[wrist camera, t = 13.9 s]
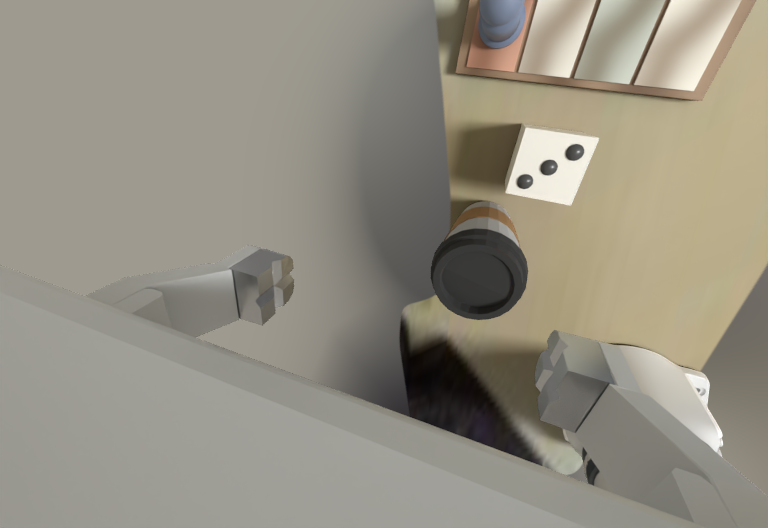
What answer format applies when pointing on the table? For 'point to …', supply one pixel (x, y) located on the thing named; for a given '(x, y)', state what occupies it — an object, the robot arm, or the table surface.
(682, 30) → the board
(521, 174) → the die
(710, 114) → the table surface
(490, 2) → the pawn
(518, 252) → the coffee cup
